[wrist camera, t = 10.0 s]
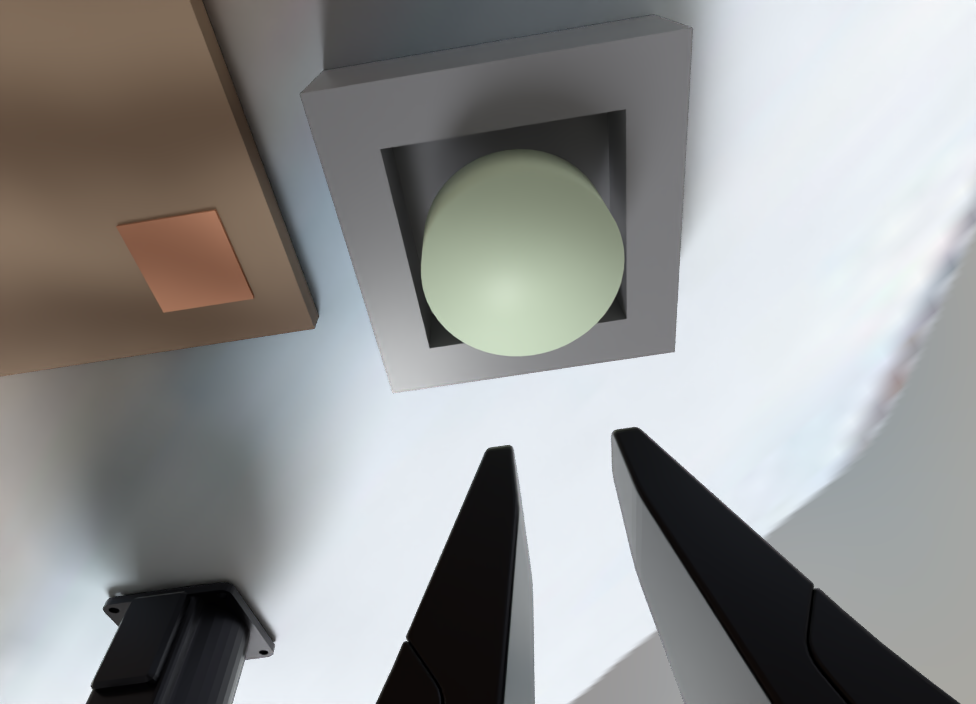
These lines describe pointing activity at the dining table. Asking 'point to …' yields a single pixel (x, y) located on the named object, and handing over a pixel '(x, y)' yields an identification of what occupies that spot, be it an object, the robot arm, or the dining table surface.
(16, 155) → the colouring board
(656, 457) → the robot arm
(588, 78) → the button housing
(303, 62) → the dining table surface
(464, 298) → the button
